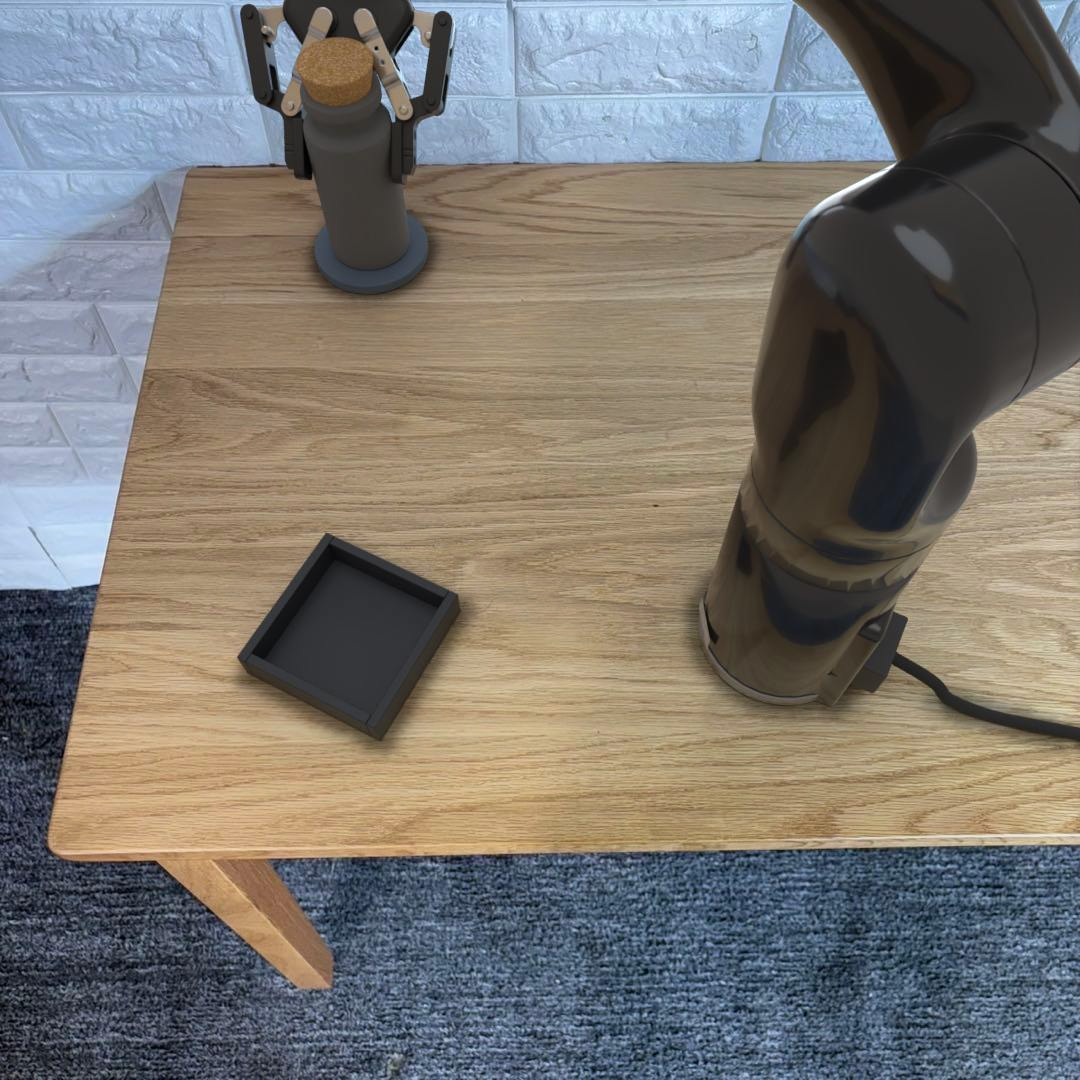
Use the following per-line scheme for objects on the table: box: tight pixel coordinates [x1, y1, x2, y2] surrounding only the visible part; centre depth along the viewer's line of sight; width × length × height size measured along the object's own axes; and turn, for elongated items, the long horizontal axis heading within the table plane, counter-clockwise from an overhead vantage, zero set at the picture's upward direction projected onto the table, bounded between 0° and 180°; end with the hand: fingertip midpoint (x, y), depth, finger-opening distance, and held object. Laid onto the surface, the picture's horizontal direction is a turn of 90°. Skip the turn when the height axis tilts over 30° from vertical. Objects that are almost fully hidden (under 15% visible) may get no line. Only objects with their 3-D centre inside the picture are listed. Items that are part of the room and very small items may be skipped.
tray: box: [236, 532, 462, 743], centre depth 58 cm, size 9×9×2 cm
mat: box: [313, 211, 429, 295], centre depth 75 cm, size 8×8×1 cm
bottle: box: [296, 37, 410, 270], centre depth 68 cm, size 6×6×15 cm
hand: (351, 180), depth 67 cm, fingers closed on bottle, 6 cm apart
